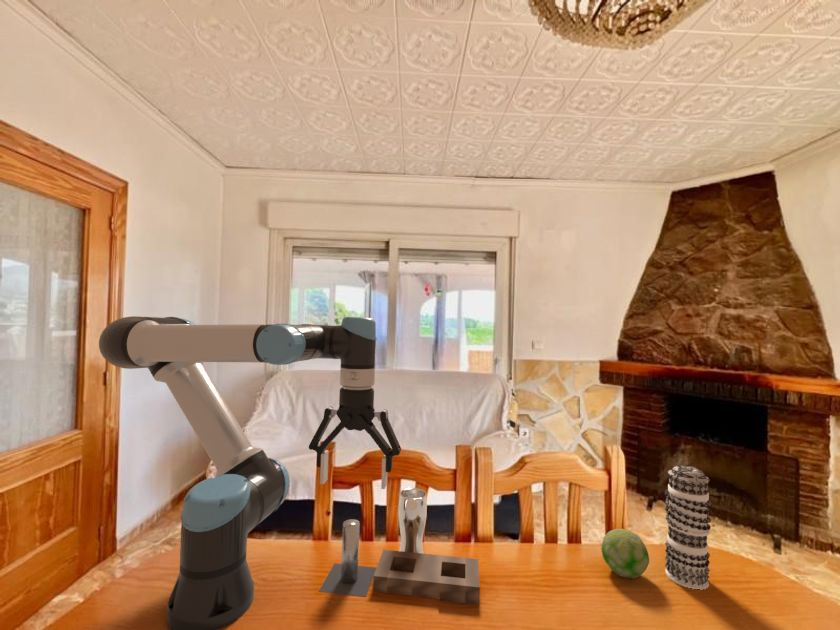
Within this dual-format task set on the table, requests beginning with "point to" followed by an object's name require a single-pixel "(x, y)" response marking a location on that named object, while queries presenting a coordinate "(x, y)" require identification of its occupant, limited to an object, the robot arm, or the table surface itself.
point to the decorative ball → (625, 553)
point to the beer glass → (412, 519)
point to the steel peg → (350, 551)
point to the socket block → (428, 576)
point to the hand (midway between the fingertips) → (353, 484)
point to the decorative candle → (687, 527)
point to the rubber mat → (355, 589)
